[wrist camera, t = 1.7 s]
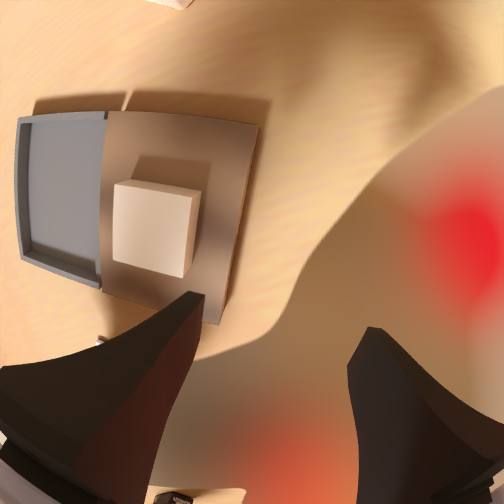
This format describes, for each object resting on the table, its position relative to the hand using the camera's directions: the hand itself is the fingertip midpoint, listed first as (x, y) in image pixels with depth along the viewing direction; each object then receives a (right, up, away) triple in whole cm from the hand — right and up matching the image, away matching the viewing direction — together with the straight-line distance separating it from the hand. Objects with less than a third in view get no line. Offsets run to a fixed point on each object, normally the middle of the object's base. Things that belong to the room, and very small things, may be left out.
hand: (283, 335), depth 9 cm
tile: (-7, +5, +8) cm, 12 cm away
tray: (-18, +8, +10) cm, 22 cm away
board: (-7, +6, +10) cm, 13 cm away
